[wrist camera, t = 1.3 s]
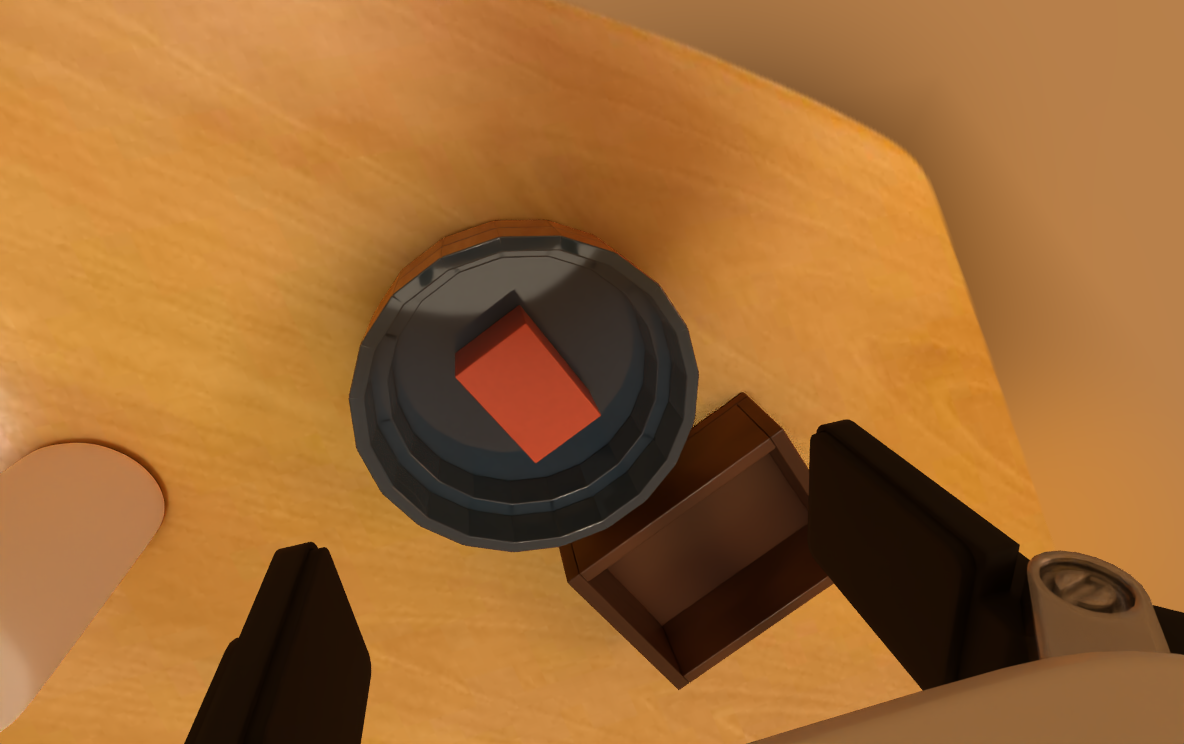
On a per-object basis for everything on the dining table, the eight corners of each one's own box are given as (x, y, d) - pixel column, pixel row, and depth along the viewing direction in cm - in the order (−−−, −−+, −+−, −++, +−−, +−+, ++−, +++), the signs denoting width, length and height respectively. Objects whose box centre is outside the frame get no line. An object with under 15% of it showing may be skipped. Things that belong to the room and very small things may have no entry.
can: (161, 439, 28) (-24, 636, 17) (175, 550, 30) (19, 786, 20) (-4, 435, 27) (-321, 648, 16) (24, 553, 29) (-236, 810, 18)
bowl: (553, 149, 27) (573, 154, 22) (712, 384, 33) (752, 424, 29) (296, 349, 28) (265, 392, 23) (499, 539, 34) (505, 602, 30)
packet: (519, 304, 29) (525, 322, 26) (589, 390, 31) (601, 415, 29) (454, 353, 29) (454, 376, 26) (528, 435, 32) (535, 464, 29)
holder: (743, 391, 34) (783, 428, 30) (823, 514, 39) (867, 560, 35) (554, 528, 35) (567, 582, 31) (655, 631, 40) (678, 690, 36)
